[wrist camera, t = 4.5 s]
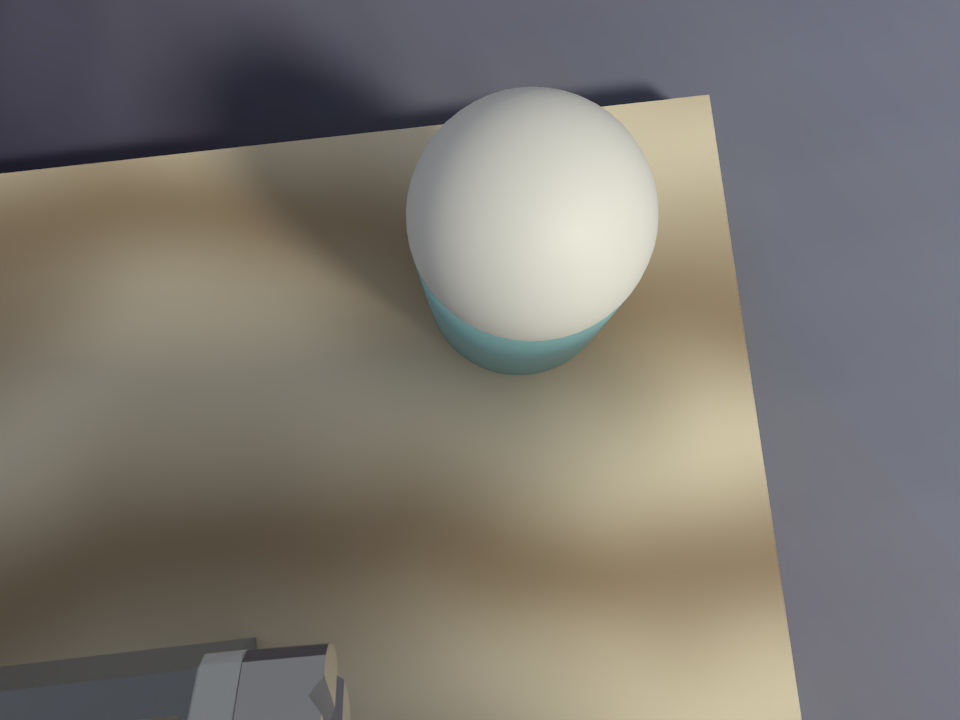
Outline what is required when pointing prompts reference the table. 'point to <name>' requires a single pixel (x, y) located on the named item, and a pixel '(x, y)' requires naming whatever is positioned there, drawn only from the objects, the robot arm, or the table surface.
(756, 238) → the table surface
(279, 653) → the robot arm
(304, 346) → the board
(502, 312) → the capsule
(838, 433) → the table surface
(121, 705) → the frame
